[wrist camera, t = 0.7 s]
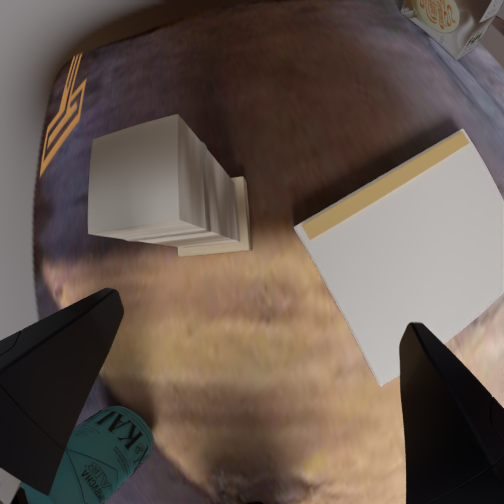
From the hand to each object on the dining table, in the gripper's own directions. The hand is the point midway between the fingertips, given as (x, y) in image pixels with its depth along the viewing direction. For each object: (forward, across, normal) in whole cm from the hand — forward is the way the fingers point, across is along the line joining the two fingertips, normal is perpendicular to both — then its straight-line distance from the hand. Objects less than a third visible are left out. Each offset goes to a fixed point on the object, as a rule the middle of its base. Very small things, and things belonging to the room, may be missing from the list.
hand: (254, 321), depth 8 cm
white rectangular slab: (+14, -12, +4) cm, 19 cm away
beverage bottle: (+4, +13, +22) cm, 26 cm away
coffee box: (+29, -17, -19) cm, 38 cm away
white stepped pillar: (+15, +6, +4) cm, 16 cm away
